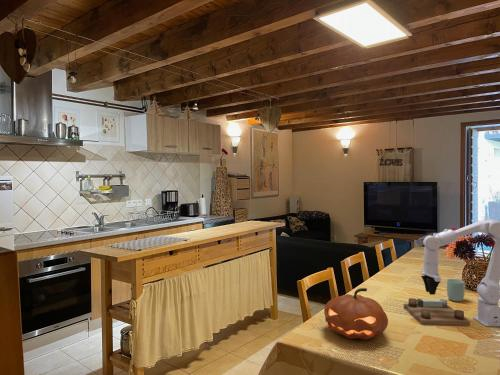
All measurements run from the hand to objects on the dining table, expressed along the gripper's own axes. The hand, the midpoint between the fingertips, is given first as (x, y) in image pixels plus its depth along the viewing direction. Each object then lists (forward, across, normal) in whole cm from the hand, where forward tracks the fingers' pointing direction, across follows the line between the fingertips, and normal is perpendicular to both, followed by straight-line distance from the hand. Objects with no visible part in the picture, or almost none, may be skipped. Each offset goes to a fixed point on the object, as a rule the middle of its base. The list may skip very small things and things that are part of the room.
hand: (430, 293), depth 163 cm
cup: (+11, -22, +22) cm, 33 cm away
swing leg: (+8, -7, +4) cm, 12 cm away
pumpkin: (+11, +20, -38) cm, 44 cm away
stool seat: (+10, 0, +2) cm, 11 cm away
